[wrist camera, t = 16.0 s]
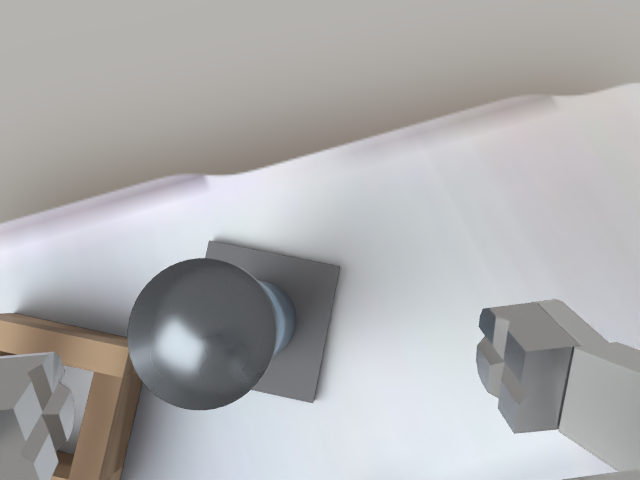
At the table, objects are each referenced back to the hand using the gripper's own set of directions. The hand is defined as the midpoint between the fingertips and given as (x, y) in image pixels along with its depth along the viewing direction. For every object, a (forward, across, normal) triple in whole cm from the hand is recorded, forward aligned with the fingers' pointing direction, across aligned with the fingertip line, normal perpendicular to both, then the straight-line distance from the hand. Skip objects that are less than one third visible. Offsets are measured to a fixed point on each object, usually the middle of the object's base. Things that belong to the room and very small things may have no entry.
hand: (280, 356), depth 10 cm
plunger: (+20, +1, +12) cm, 24 cm away
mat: (+21, +1, +12) cm, 24 cm away
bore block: (+20, +15, +17) cm, 30 cm away
